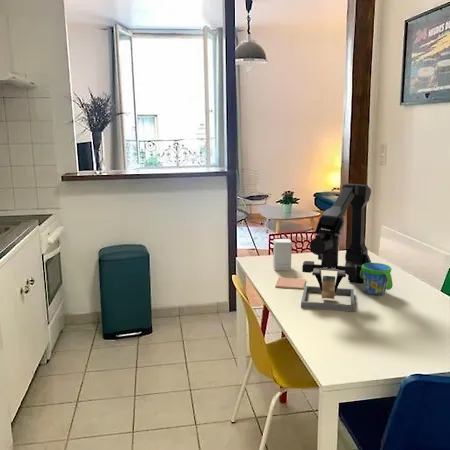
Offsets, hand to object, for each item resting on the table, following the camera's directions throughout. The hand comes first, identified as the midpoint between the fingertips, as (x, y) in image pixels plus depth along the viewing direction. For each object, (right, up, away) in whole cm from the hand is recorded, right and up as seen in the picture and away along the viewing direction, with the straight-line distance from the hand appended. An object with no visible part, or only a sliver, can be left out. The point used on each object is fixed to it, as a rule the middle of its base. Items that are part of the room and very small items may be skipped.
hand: (328, 290), depth 175 cm
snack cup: (+20, -2, +9) cm, 22 cm away
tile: (-11, 0, +19) cm, 22 cm away
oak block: (0, -2, 0) cm, 2 cm away
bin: (0, -4, +1) cm, 4 cm away
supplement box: (-12, +4, +41) cm, 43 cm away
